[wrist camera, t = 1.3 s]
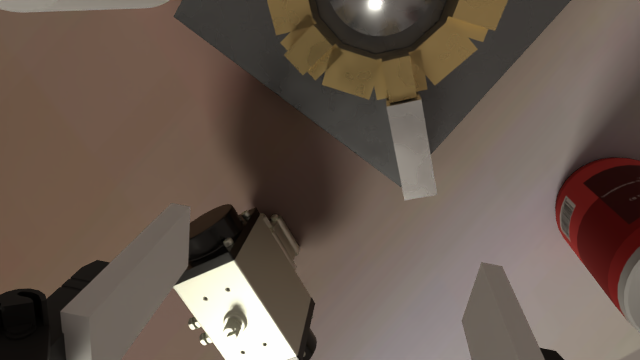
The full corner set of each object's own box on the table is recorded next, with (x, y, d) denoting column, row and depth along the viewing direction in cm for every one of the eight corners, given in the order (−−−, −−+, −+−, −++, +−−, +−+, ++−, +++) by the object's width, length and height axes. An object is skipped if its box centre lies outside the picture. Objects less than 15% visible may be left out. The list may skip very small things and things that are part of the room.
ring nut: (250, -108, 27) (223, -129, 23) (478, -182, 25) (501, -223, 20) (325, 185, 34) (316, 215, 29) (512, 152, 31) (535, 178, 27)
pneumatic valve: (262, 167, 36) (209, 241, 25) (330, 281, 39) (310, 393, 28) (205, 194, 37) (132, 275, 26) (276, 302, 41) (236, 415, 30)
